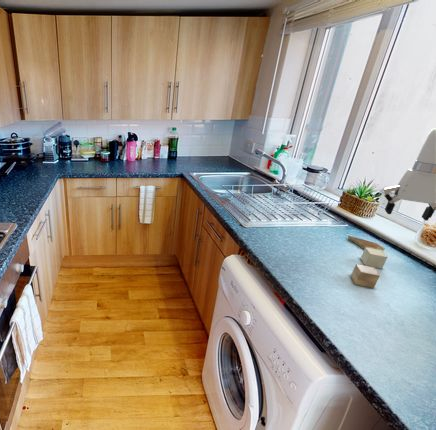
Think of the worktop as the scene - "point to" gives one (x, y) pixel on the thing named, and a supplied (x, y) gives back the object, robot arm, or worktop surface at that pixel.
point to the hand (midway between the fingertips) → (405, 215)
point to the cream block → (373, 257)
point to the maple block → (365, 276)
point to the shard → (366, 243)
